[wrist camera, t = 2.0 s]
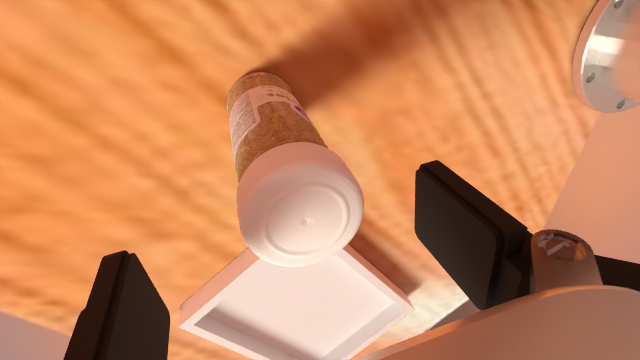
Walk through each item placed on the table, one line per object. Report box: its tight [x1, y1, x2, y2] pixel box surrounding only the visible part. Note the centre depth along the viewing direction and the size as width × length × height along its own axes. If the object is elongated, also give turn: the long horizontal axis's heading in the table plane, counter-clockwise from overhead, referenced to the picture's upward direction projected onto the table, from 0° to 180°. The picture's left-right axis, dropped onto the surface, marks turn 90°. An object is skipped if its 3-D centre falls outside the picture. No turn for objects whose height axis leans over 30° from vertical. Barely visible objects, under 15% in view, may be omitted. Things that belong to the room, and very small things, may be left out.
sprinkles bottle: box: [226, 72, 364, 267], centre depth 18 cm, size 5×5×14 cm
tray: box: [179, 244, 415, 360], centre depth 33 cm, size 18×14×2 cm
